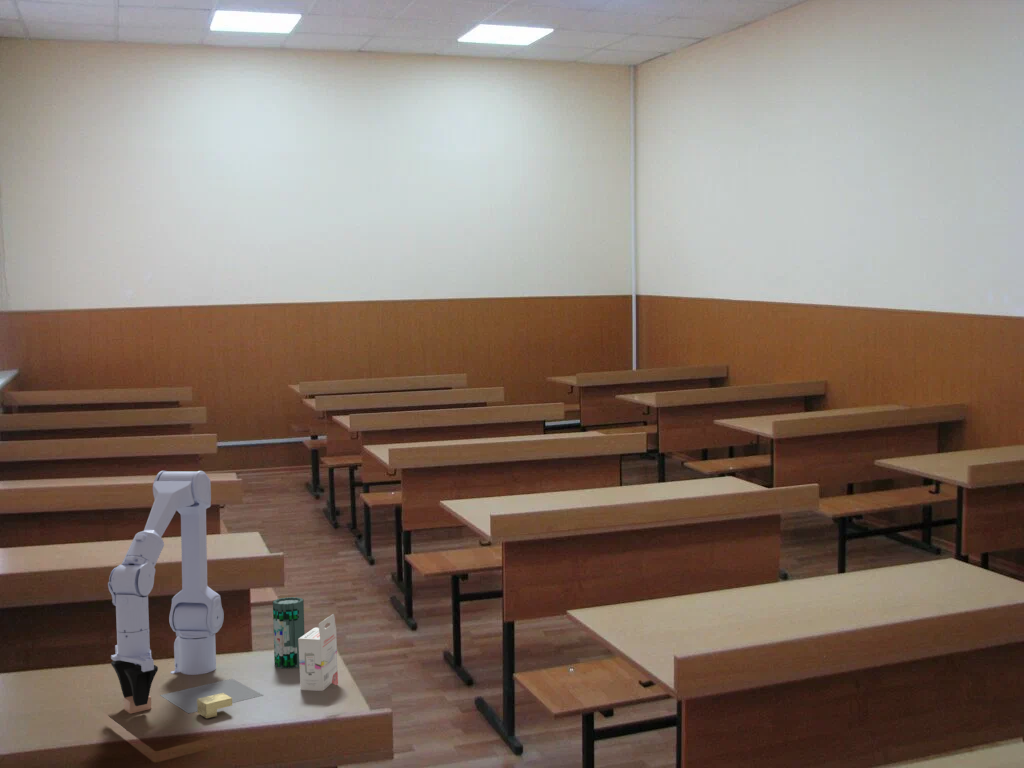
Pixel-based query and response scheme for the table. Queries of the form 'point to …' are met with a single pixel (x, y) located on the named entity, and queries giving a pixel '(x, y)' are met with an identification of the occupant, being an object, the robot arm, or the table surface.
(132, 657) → the robot arm
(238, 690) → the flat gray mat
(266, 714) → the table surface
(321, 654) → the ink cartridge box
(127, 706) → the pink rectangular block
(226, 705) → the yellow stepped block
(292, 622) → the can
